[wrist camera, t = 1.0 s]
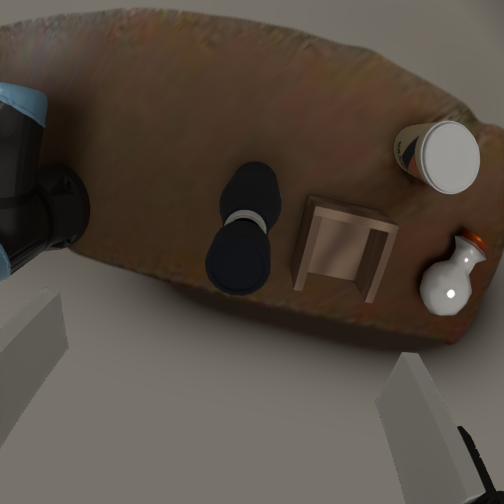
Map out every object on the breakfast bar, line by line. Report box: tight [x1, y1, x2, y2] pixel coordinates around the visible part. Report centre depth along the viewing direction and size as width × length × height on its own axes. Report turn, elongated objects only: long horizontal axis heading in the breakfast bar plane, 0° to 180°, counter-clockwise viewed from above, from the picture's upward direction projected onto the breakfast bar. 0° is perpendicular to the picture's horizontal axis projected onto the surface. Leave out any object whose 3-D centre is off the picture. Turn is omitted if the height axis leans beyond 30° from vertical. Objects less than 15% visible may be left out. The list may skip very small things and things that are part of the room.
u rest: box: [290, 194, 399, 303], centre depth 46 cm, size 12×12×8 cm
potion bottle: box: [420, 227, 490, 316], centre depth 46 cm, size 9×10×15 cm
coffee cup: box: [394, 121, 480, 194], centre depth 38 cm, size 9×9×12 cm
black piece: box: [205, 162, 281, 296], centre depth 33 cm, size 6×6×30 cm
